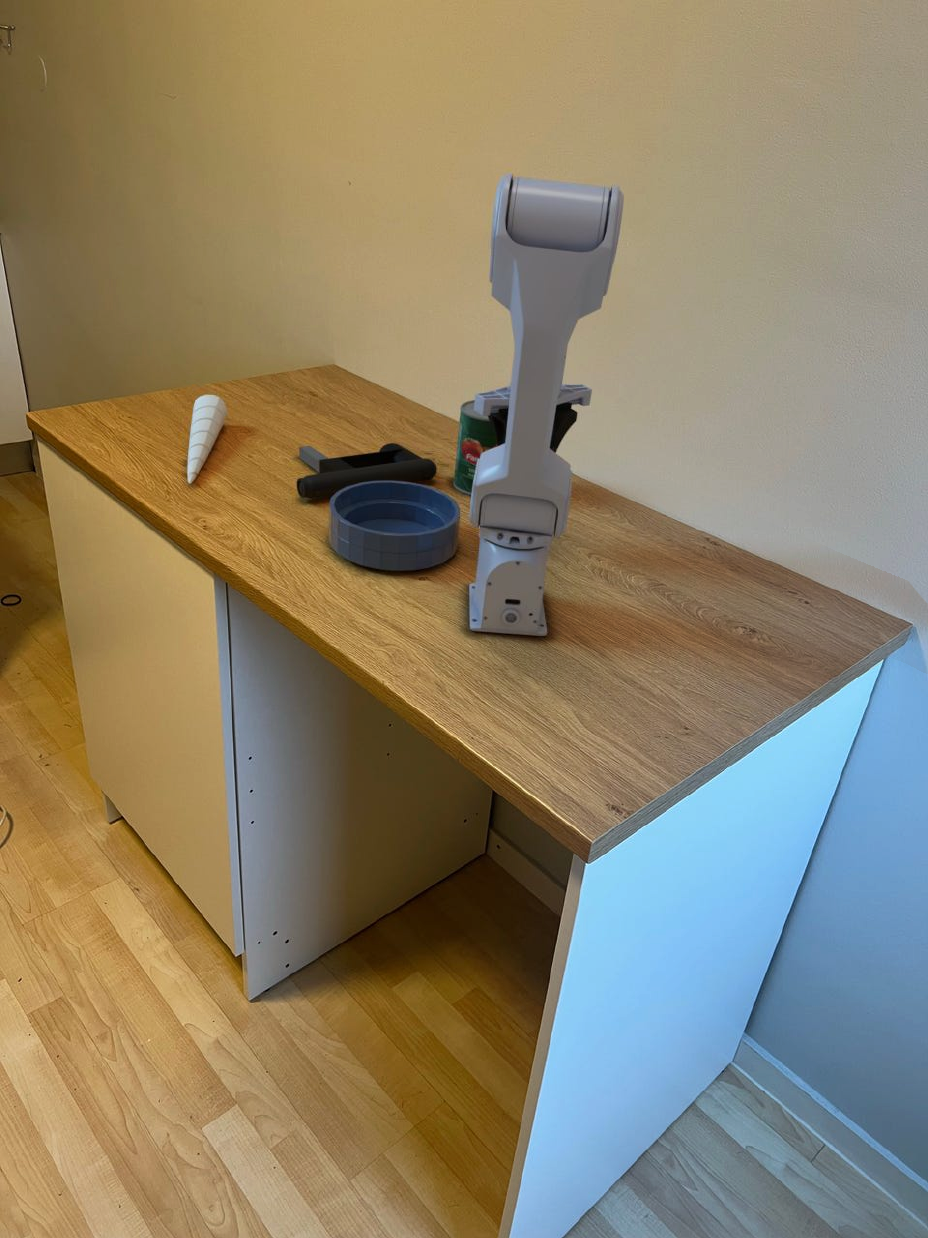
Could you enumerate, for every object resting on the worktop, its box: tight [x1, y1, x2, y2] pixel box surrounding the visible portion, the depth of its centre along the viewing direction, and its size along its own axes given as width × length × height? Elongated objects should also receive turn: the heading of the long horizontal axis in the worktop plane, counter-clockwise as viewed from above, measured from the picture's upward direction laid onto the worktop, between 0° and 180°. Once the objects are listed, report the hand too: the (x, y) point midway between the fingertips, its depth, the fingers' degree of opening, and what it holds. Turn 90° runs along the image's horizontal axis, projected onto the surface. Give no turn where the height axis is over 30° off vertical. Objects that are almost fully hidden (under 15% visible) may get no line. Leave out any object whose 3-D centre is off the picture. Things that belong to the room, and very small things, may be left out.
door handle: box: [296, 442, 438, 500], centre depth 127 cm, size 3×20×16 cm
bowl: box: [327, 481, 461, 572], centre depth 110 cm, size 15×15×5 cm
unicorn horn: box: [186, 394, 228, 485], centre depth 128 cm, size 5×24×5 cm, turn 3°
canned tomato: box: [452, 399, 497, 496], centre depth 126 cm, size 8×8×11 cm
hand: (525, 468), depth 109 cm, fingers closed on scoop, 4 cm apart
